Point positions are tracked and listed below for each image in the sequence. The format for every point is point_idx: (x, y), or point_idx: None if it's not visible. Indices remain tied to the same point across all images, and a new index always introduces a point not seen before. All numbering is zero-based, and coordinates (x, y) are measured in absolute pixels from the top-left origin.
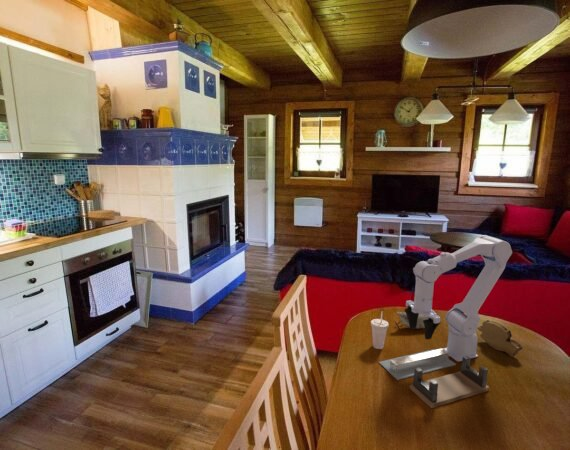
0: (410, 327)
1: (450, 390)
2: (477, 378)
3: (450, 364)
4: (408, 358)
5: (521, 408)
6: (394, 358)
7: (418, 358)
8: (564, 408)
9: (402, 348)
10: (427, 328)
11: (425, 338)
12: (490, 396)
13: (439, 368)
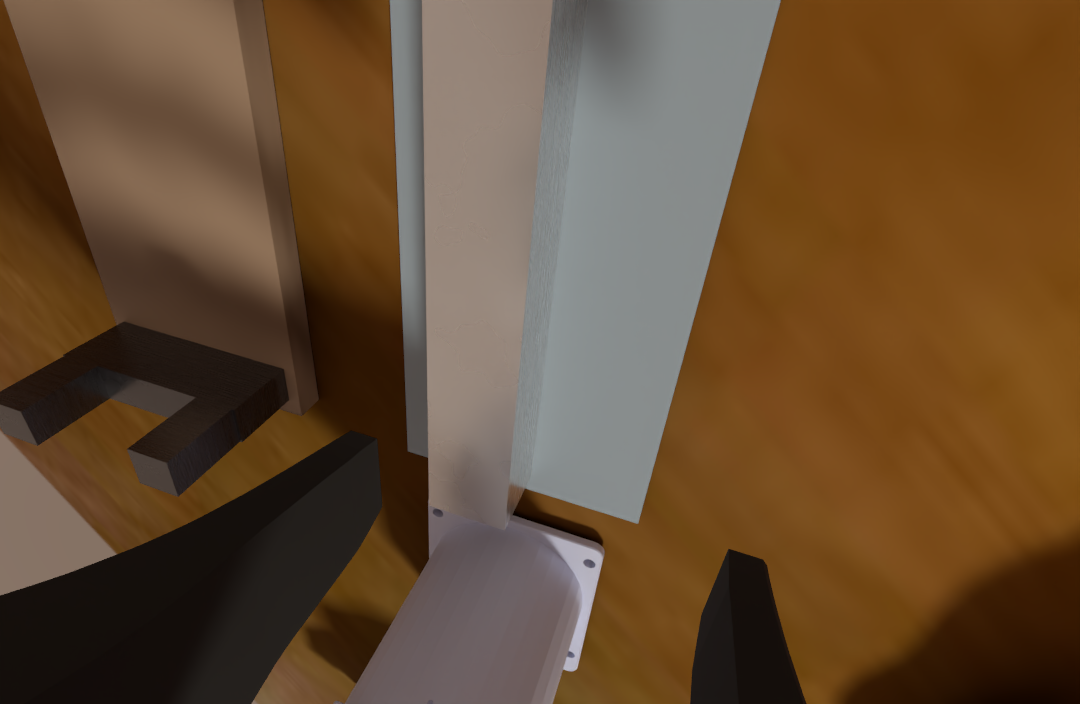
0: (741, 570)
1: (90, 79)
2: (121, 355)
3: (415, 419)
4: (501, 52)
5: (25, 339)
6: (772, 12)
7: (451, 181)
8: (43, 474)
9: (871, 326)
10: (96, 569)
11: (363, 438)
12: (105, 305)
13: (403, 307)
